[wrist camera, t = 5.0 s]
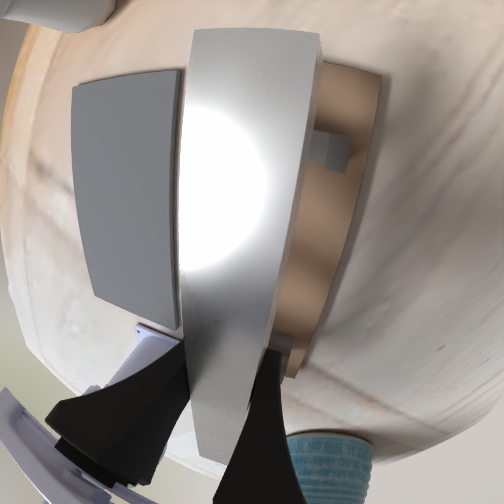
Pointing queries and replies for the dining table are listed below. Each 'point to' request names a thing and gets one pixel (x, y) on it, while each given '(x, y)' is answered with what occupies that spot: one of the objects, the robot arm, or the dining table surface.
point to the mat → (128, 189)
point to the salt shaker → (59, 13)
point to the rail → (239, 209)
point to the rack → (324, 206)
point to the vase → (331, 466)
